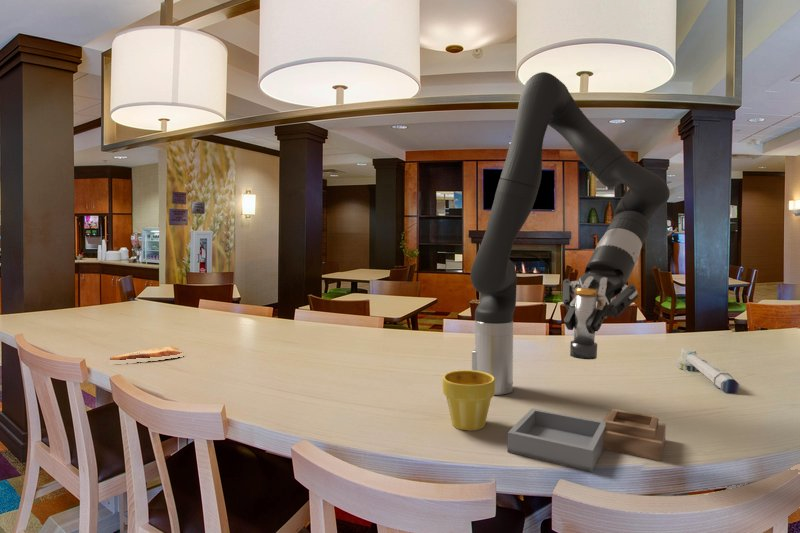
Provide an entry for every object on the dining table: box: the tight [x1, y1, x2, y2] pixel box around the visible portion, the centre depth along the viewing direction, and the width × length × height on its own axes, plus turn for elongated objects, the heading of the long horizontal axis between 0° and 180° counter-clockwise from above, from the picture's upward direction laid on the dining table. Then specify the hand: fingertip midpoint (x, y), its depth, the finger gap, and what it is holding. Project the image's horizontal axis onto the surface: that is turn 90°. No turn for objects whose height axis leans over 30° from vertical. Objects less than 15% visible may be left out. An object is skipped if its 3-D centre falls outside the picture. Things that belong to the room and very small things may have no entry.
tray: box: [507, 407, 606, 473], centre depth 86 cm, size 14×14×4 cm
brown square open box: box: [602, 408, 667, 462], centre depth 86 cm, size 10×10×4 cm
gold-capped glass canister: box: [569, 287, 598, 361], centre depth 84 cm, size 4×4×12 cm
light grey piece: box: [676, 346, 740, 394], centre depth 126 cm, size 5×7×25 cm
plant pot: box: [442, 369, 495, 432], centre depth 96 cm, size 10×10×10 cm
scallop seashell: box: [109, 346, 183, 360], centre depth 152 cm, size 18×18×4 cm
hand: (579, 328), depth 83 cm, fingers closed on gold-capped glass canister, 3 cm apart
